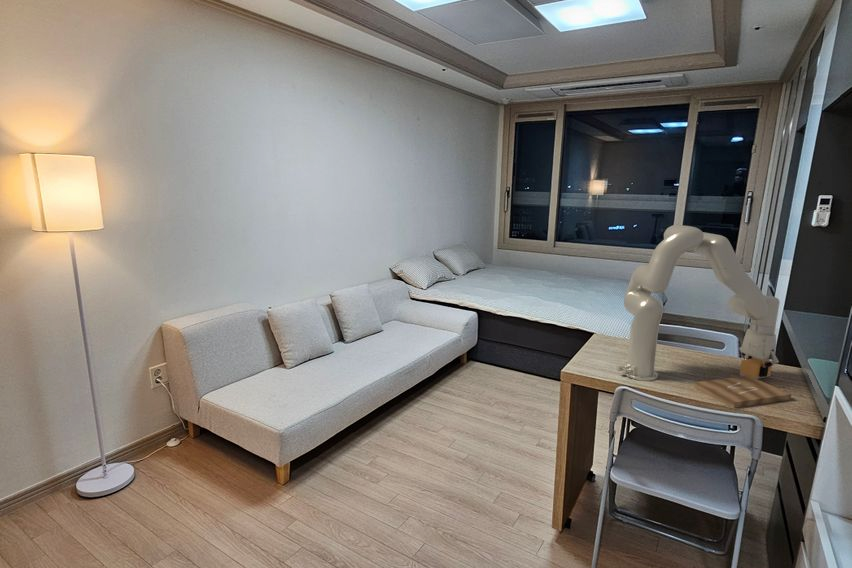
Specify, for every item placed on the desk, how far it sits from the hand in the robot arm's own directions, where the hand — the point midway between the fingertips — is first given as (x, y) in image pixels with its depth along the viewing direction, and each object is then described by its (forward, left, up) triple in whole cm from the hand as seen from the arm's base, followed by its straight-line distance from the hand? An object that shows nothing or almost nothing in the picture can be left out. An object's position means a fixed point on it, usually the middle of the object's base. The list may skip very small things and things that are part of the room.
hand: (755, 372), depth 171 cm
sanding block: (0, 0, -1) cm, 1 cm away
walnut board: (-19, -11, -1) cm, 22 cm away
